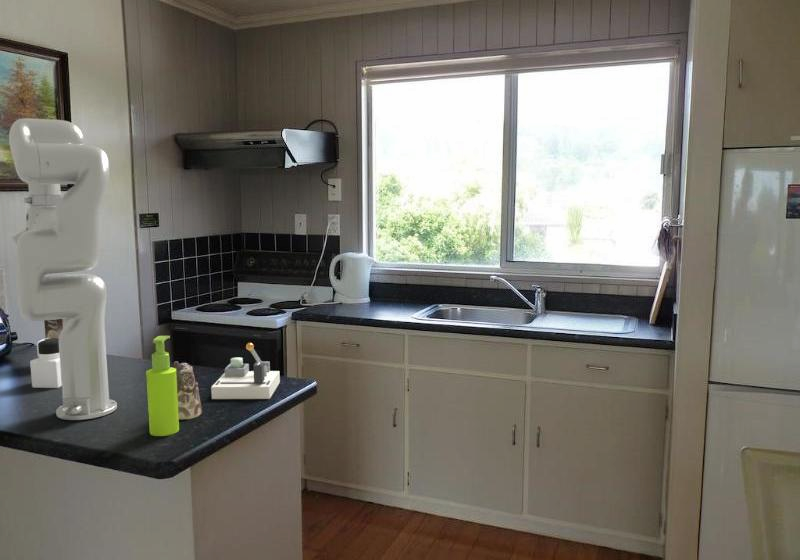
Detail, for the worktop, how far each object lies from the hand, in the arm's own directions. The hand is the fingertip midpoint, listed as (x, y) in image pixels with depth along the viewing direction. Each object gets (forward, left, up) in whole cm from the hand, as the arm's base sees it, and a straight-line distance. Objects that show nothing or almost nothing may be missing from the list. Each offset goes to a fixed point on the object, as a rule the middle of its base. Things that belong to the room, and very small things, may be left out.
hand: (50, 265), depth 181 cm
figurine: (-34, -46, -30) cm, 65 cm away
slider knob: (-20, -60, -26) cm, 69 cm away
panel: (-16, -56, -30) cm, 65 cm away
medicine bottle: (-10, -4, -30) cm, 32 cm away
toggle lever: (-12, -59, -26) cm, 66 cm away
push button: (-12, -52, -25) cm, 59 cm away
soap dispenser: (-44, -45, -30) cm, 70 cm away
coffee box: (+9, +2, -30) cm, 31 cm away
